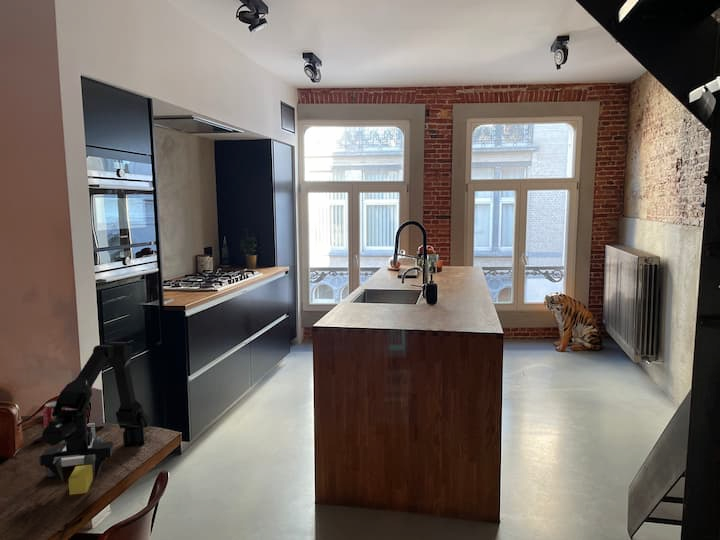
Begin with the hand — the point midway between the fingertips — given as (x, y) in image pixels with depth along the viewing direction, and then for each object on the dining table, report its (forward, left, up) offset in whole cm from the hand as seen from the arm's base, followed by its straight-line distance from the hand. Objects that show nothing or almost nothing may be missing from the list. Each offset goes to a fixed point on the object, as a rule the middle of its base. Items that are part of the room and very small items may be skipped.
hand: (79, 480), depth 152 cm
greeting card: (+9, -50, -3) cm, 51 cm away
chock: (0, -2, -3) cm, 4 cm away
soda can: (+19, -46, -3) cm, 50 cm away
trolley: (+5, -18, -3) cm, 19 cm away
